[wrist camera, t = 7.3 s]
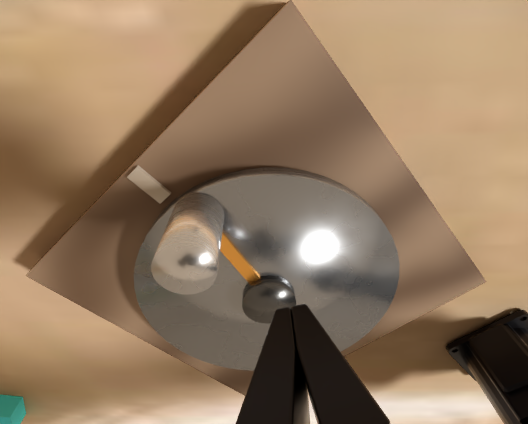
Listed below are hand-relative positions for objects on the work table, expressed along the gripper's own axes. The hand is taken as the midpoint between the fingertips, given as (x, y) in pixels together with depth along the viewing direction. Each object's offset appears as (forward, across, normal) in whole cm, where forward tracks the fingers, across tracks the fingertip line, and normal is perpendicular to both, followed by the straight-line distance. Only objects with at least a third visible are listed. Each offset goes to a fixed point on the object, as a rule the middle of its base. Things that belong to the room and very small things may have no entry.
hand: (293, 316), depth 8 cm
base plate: (+10, +2, +6) cm, 12 cm away
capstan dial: (+8, +2, +6) cm, 11 cm away
